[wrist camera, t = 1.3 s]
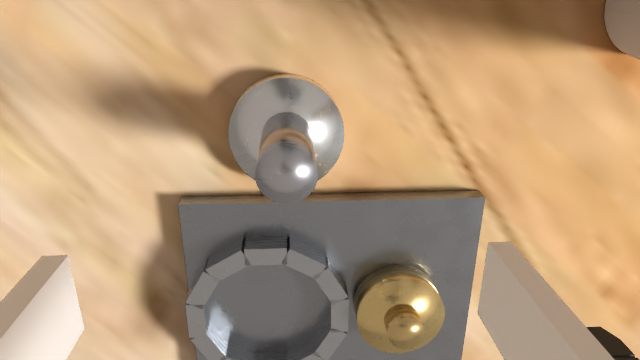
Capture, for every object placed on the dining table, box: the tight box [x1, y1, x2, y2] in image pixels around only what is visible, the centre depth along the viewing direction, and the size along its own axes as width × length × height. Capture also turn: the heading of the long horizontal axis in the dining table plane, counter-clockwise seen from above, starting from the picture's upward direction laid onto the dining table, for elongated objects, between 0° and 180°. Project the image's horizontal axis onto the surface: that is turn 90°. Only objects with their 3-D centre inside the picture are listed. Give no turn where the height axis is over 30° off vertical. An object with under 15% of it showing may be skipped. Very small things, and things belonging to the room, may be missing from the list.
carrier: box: [178, 190, 485, 360], centre depth 33 cm, size 16×20×5 cm
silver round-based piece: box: [228, 74, 344, 204], centre depth 27 cm, size 7×7×8 cm
